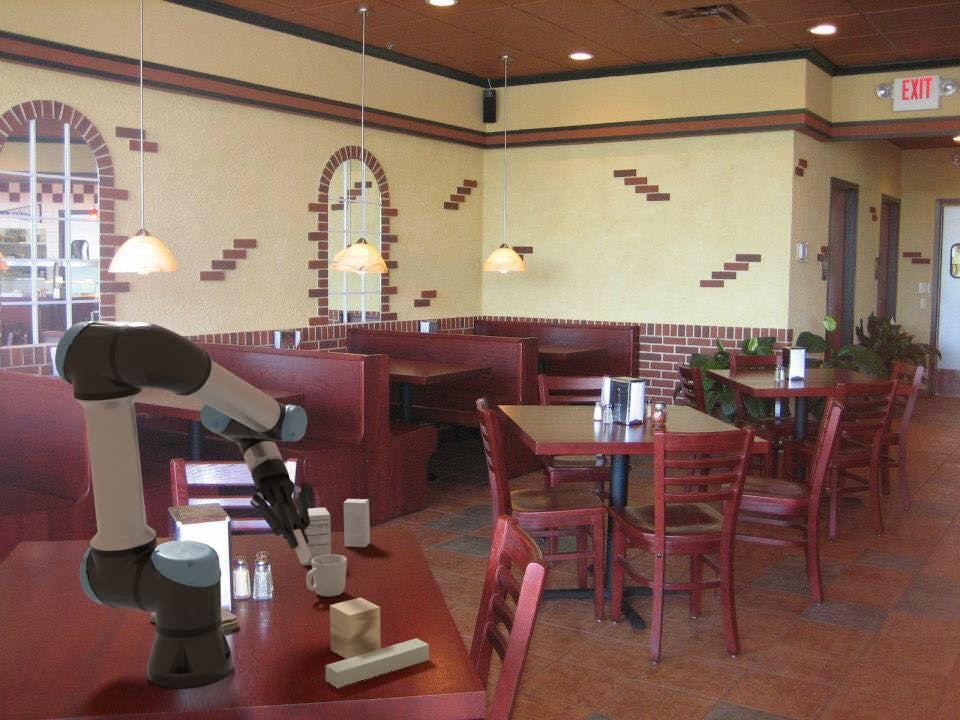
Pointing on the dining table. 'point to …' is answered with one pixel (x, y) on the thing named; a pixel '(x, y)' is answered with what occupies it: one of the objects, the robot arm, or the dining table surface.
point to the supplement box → (318, 533)
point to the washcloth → (227, 620)
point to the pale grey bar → (377, 662)
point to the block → (354, 627)
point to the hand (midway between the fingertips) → (305, 559)
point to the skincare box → (356, 523)
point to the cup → (327, 575)
